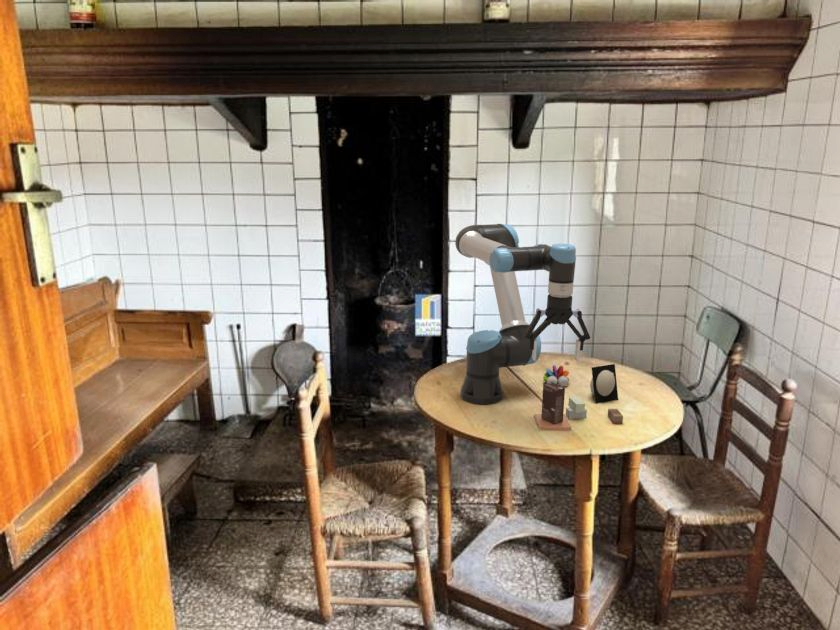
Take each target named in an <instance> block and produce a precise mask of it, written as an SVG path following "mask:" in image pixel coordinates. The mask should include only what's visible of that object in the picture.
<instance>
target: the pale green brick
mask: <svg viewBox="0 0 840 630" xmlns="http://www.w3.org/2000/svg"><path fill="white" fill-rule="evenodd" d="M567 405H568V407H570V408H571V409H572V410H573V411H574V412H575V413H581V412H584V410H585V409H586V403H585V402H584V401H583V400H582V399H581V398H580V397H578V396H568V404H567Z"/></svg>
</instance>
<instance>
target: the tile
mask: <svg viewBox="0 0 840 630" xmlns="http://www.w3.org/2000/svg"><path fill="white" fill-rule="evenodd" d="M541 415H542V413H535V414H534V419H535V421H536V425H537V427H538V429H539V431H572V426H571V424H570V422H569V419H568V417H567V416H566V413H565V414H564V413H563V422H561V423H558V424H555V425H554V424H552V423H550V422H548V421H546V420H544V419H542V418H541Z"/></svg>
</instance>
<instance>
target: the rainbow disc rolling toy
mask: <svg viewBox="0 0 840 630" xmlns="http://www.w3.org/2000/svg"><path fill="white" fill-rule="evenodd" d="M545 371H546V372H545V373H544V375H543V377H542V378H543V380H544V381H545V382H546V384H547V383H550V382H553V383H555V384H558V385H560V386H562V387H564V388H565V387H566V386H568V384H569V382H570V378H569V377H568V376H569V373H570V372H569V370H567V369H566V370H564V366H563V365H560V366H559V367H557V366H556V365H555V364H553V365H552V371H551V370H550V369H549V368H547V369H545Z"/></svg>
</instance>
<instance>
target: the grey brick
mask: <svg viewBox="0 0 840 630" xmlns="http://www.w3.org/2000/svg"><path fill="white" fill-rule="evenodd" d="M587 411H588V410H587V409H586V408H585V410H584V412H581V413H575V412H574V411H573V410H572V409H571V408H570V407H569V406H568V407H565V416H566V418H567V420H574V419H575V420H576V419H587V414H588V413H587Z"/></svg>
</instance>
